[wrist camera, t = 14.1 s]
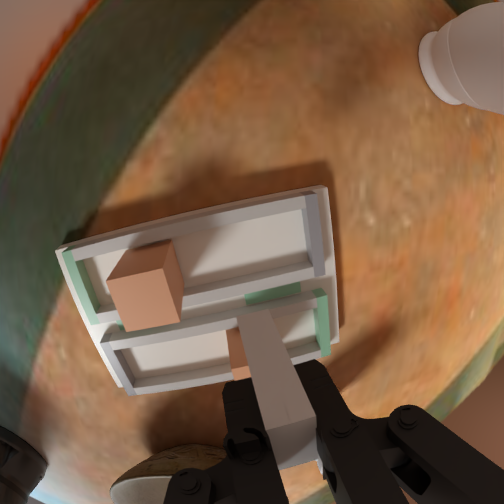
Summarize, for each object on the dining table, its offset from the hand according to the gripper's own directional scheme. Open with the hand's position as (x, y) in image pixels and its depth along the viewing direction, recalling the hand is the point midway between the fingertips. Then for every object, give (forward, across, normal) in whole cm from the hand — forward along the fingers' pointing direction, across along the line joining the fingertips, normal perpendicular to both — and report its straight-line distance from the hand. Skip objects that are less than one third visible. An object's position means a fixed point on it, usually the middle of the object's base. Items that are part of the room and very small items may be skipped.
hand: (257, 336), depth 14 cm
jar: (+13, +26, +15) cm, 33 cm away
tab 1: (+12, -6, 0) cm, 14 cm away
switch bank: (+14, -3, -4) cm, 15 cm away
